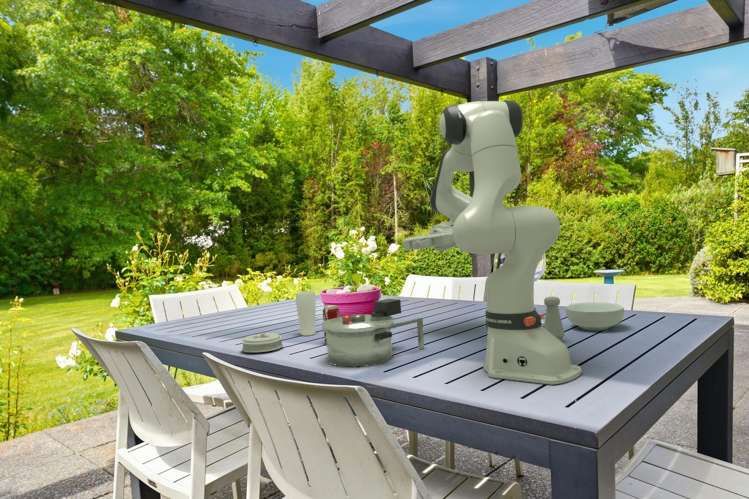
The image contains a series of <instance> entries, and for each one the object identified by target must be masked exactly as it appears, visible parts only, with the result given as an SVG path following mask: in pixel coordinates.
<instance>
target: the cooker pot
mask: <svg viewBox="0 0 749 499" xmlns="http://www.w3.org/2000/svg"><path fill="white" fill-rule="evenodd" d="M423 321H424V319H423V317H417V318H413V319H409V320H405V321H401V322H397V323H394V324H393V325H392V326H390V327H387V328H384V329H380V330H374V331H367V332H356V333H336V332H328V331H326V338H327V344H326V349H327V350H326V352H327V362H328V361H329V362H330V363H332V364H336V365H340V366H339V367H341V366H363V367H367V366H366V365H371V366H374V365H373V364H376V365H380V364H384V363H386V362H388V360H389V361H390V360H391V359H392V358H393V346H392V345H393V343H392V338H393V332H392V330H393V329H397V328H399V327H404V326H407V325H411V324H415V323H416V328H417V329H416V330H417V346H418V350H424V349H425V338H424V337H425V336H424V334H425V333H424V322H423ZM423 348H424V349H423ZM329 362H328V363H329ZM383 362H384V363H383ZM330 363H329V364H330ZM379 363H380V364H379ZM332 364H331V365H332Z"/></svg>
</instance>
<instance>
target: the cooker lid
mask: <svg viewBox="0 0 749 499" xmlns="http://www.w3.org/2000/svg"><path fill="white" fill-rule="evenodd" d="M373 305H374V306H373V307H374V308H373V309H374V312H371V313H370V314H365V313H364V314H363V313H356V314H354V313H353V314H350V315H349V314H348V315H342V316H339V317H338V318H333V319H329V320H326V321H324V322H322V323H321V329H322V330H323V331H324V330H325V331H328V332H336V333H356V332H367V331H374V330H380V329H384V328H387V327H390V326H392V325H393V324H395V320H394V317H393V316H394V315H395V316H396V315H398V314H402V302H401V299H398V298H396V299H395V298H386V299H385V298H384V299H379V300H374V301H373Z"/></svg>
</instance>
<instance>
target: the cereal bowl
mask: <svg viewBox="0 0 749 499" xmlns="http://www.w3.org/2000/svg"><path fill="white" fill-rule="evenodd" d="M565 313H566V317H567V319H568V320H569V322H570V323H571V324H573V325H575V326H578V327H580V328H582V329H583V330H585V331H594V332H595V331H596V332H597V331H598V332H600V331H606V330H609V328H612V327H615V326H616V325H619V324H620V322H621V321H622V320H623V319H624V318H623V317H624V314H625V307H624V306H623V305H621V304H618V303H612V302H603V301H601V302H600V301H590V302H589V301H588V302H587V301H586V302H585V301H583V302H576V303H572V304H567V305H566V306H565Z"/></svg>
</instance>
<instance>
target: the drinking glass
mask: <svg viewBox="0 0 749 499" xmlns="http://www.w3.org/2000/svg"><path fill="white" fill-rule="evenodd" d="M295 304H296V310H297V317H298V324H299V331H300V332H299V333H300V335H301V336H302V337H303V336H304V337H308V336H313V335H315V334H316V307H317V304H316V292H315V291H312V290H311V291H310V290H309V291H308V290H307V291H299V292H296V293H295Z"/></svg>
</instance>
